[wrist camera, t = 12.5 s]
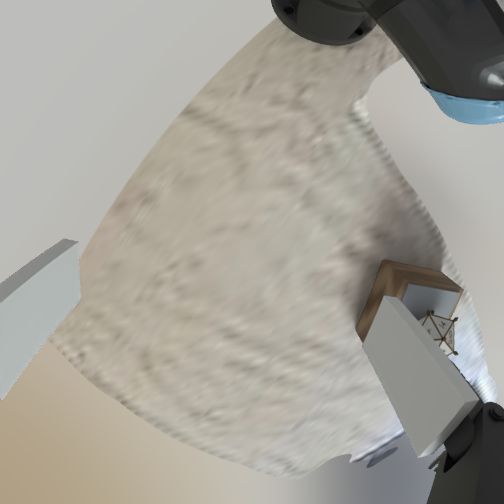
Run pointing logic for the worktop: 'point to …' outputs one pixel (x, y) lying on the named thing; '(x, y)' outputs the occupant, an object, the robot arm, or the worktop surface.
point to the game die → (440, 331)
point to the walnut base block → (410, 293)
